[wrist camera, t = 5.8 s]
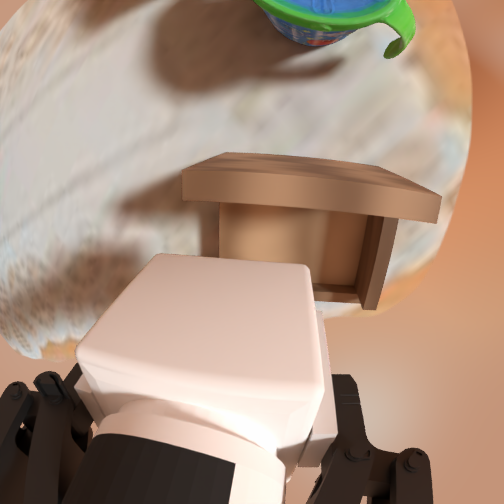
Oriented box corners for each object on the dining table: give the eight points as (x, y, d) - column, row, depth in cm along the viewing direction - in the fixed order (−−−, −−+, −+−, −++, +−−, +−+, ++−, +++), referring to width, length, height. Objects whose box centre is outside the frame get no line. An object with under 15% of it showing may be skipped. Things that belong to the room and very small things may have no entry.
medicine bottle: (172, 359, 16) (97, 540, 5) (155, 250, 13) (-19, 472, 2) (292, 373, 15) (281, 581, 5) (310, 261, 13) (335, 590, 2)
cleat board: (224, 272, 30) (192, 351, 19) (225, 152, 25) (181, 170, 14) (357, 282, 29) (389, 363, 18) (378, 166, 24) (442, 196, 13)
